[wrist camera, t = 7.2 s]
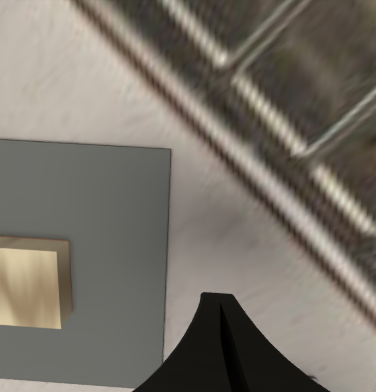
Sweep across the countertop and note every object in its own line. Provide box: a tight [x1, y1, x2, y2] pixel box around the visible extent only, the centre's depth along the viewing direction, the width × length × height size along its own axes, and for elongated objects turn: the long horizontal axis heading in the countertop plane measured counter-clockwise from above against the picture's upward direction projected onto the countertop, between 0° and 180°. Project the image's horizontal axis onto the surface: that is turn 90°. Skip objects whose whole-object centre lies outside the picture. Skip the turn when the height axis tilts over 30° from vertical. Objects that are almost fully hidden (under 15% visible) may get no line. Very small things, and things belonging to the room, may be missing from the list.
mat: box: [0, 139, 171, 389], centre depth 22 cm, size 20×16×1 cm
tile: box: [0, 236, 73, 329], centre depth 21 cm, size 6×2×7 cm
